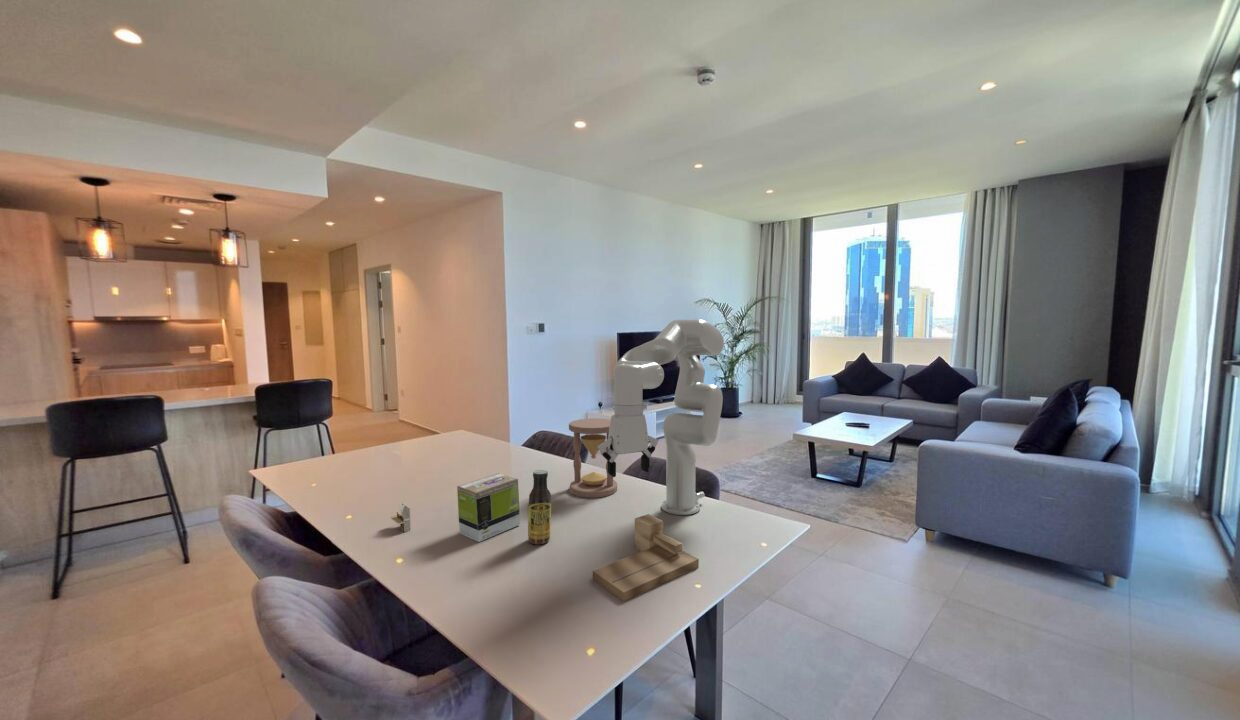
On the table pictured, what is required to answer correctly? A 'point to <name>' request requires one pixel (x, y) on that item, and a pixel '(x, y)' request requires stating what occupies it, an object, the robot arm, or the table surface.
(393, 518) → the architectural model
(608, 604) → the table surface
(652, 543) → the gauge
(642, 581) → the board
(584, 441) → the hourglass
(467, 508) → the tea box
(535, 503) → the sauce bottle
